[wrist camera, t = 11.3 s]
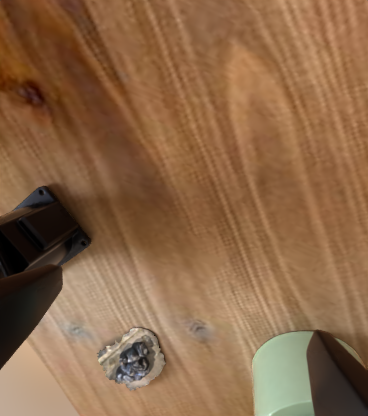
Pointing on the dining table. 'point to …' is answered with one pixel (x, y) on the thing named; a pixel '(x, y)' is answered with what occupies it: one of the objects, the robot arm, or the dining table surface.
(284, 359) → the green cylinder with peg
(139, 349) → the blueberry tart
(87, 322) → the dining table surface
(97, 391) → the dining table surface
